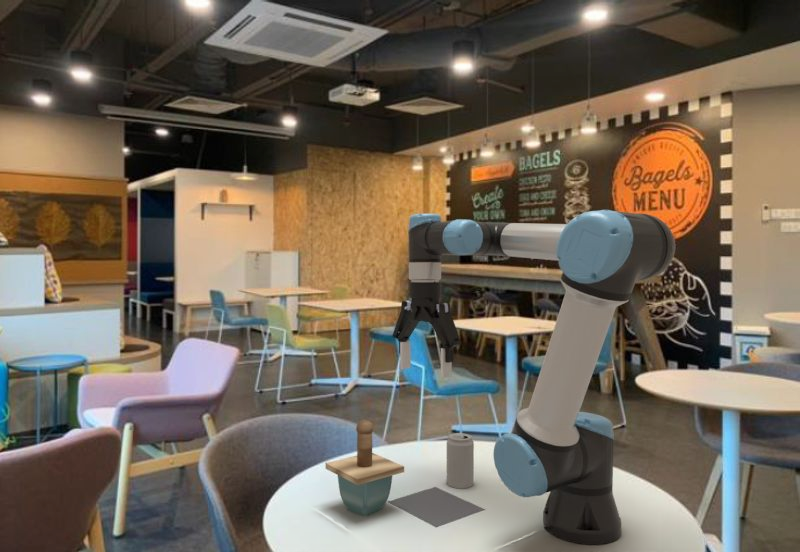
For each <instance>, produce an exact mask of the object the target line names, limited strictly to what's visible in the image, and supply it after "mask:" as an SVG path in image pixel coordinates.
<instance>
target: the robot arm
mask: <svg viewBox="0 0 800 552" xmlns="http://www.w3.org/2000/svg"><path fill="white" fill-rule="evenodd" d="M408 222H409V223H408V224H409V225H408V231H407V234H408V279H409V280H411V281H409V283H408V298H410V300H402V301H401V306H400V307H401V309H400V311H399V315H398V318H397V319H396V324H395V327H394V329H393V332H392V338H393V339H396V340H397V341H398V353H399V357H400V358H399V365H400V366H399V368H400V370H409V369H411V368H412V366H411V365H412V363H411V359H412V356H411V355H412V354H411V353H412V350H411V349H412V348H411V345H412V344H411V339H410V337H411V336H412V334H413V333H414V331H415V329H416V328H417V326H418V324H419V323H420V322H424V323H428V324H429V325H431V326H432V329H434V332H435V334H436V335H437V338H438V339H439V340H440V342H441V344H442V347H440V377H441V378H449V377H452V375H453V374H452V373H453V371H452V370H453V368H452V366H453V365H452V363H453V362H454V355H455V353H454V349H455V347H458V346H460V345H461V344H462V341H461V339H460V336H459V332H458V330H457V326H456V324H455V321H454V319H453V316H452V312H451V303H449V302H443V303H440V298H441V297H442V282H440V280H441V279H442V256H459V257H460V256H498V257H501V256H502V257H514V258H524V259H525V258H526V259H536V260H537V259H538V260H546V261H547V260H549V261H559V262H558V266H559V269H560V270H561V271H562V272H561V273H562V274H561V277H560V282H561V285H562V286H563V288H564V290H565V294H564V296H563V299H562V303H561V307H560V309H559V312H558V315H557V318H556V322H555V324H554V328H553V331H552V334H551V336H550V340H549V344H548V347H547V349H546V353H545V357H544V359H543V361H542V362H543V363H542V365H541V368H540V371H539V374H538V378H537V380H536V384H535V387H534V390H533V393H532V396H531V399H530V402H529V405H528V407H525V408H523V409H521V410H519V411H518V413H517V415H516V417H515V418H516V419H515V422H514V424H513V427H512V431H511V432H506V433H504V434H503V435H501V436H500V437H499V438H498V439H497V440H496V442H495V444H494V447H493V462H494V467H495V469H496V470H497V474H498V476H499V479H500V480H501V481H502V483H503V485H504V486H505V487H506V488H508V490H509V491H510V492H512V493H513V494H514V495H516V496H519V497H522V498H531V497H536V496H537V497H539V496H543V495H544V494H547V493H549V494H548V497H547V500H546V503H545V506H544V509H543V511H542V523H543V525H544V529H545V530H546V531H547V532H548V533H549V534H551V535H553V536H555V537H557V538H560V539H562V540H564V541H568V542H572V543H576V544H583V545H603V544H609V543H612V542H615V541H617V540H618V539H620V537H621V536H622V519H621V517H620V513H619V510H618V507H617V503H616V501H615V497H614V491H613V483H614V482H613V479H614V477H613V475H614V441H615V437H614V425H613V423H612V421H611V420H610V419H608V418H607V417H605V416H604V415H603V416H602V415H599V414H595V413H591V412H586V411H580V410H581V407H582V405H583V402H584V399H585V396H586V394H587V391H588V388H589V385H590V382H591V380H592V376H593V374H594V371H595V368H596V366H597V362H598V360H599V356H600V354H601V351H602V349H603V345H604V343H605V340H606V337H607V334H608V331H609V328H610V326H611V323H612V320H613V317H614V314H615V311H616V309H617V307H619V306H622V305H623V304H625V303H628V302H629V301H630V298H631V296H632V292H633V290H634V287H635V285H636V282H637V281H645V280H650V279H652V278H655V277H657V276H659V275H660V274H662V273H664V272H665V270H666V269H667V268H668V267H669V266H670V264H671V263H672V261H673V259H674V257H675V254H676V253H675V252H676V240H675V237H674V234H673V232H672V230H671V229H670V227H669V226H668V225H667V223H666V222H664V221H663V220H662V219H660V218H658V217H657V216H654V215H652V214H647V213H639V212H638V213H637V212H636V213H635V212H634V213H633V212H626V211H618V210H610V209H601V210H591V211H589V210H588V211H586V212H583V213H581V214H579V215H577V216H575V217H574V218H573V217H572V219H571V220H570V221H569V222H568V223H529V222H527V223H526V222H525V223H524V222H519V223H518V222H517V223H516V222H492V221H491V222H486V221H485V222H484V221H475V220H472V219H461V218H458V219H455V220H454V219H453V220H446V221H445V220H444V221H442V215H441V214H438V213H415V214H412V215H411V216H410V217H409V219H408Z"/></svg>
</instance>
